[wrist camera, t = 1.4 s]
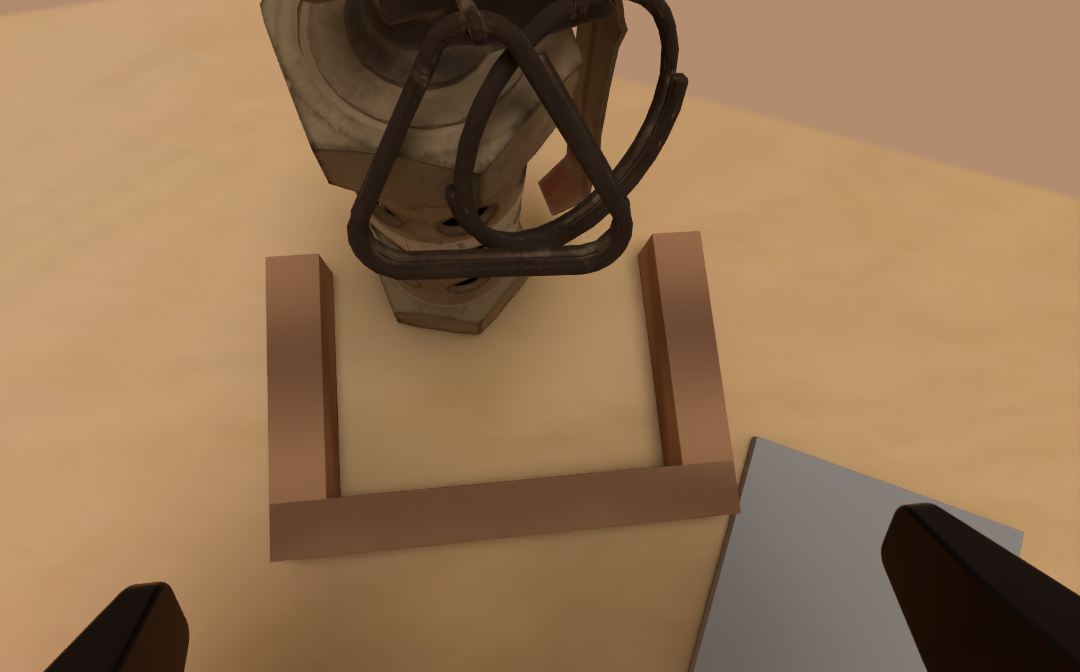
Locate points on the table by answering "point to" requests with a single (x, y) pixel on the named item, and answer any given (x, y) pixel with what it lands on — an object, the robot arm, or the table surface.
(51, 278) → the table surface
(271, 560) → the brown flat open frame
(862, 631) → the felt mat
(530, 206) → the table surface
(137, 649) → the robot arm
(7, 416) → the table surface
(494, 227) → the grenade model
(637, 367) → the table surface
